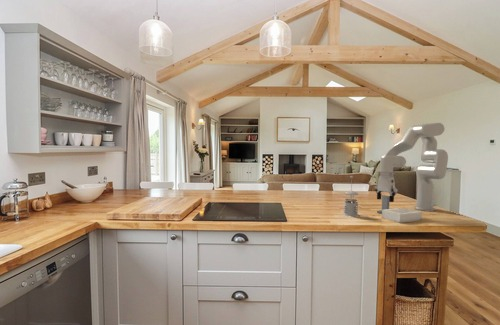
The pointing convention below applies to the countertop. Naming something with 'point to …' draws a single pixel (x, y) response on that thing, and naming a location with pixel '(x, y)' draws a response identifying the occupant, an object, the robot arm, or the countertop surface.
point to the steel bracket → (384, 203)
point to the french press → (351, 204)
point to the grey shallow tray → (401, 215)
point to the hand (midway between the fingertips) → (385, 200)
